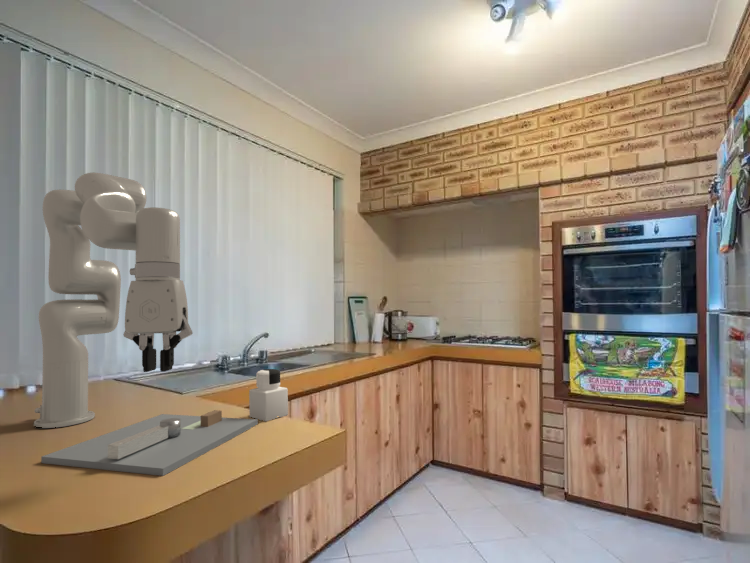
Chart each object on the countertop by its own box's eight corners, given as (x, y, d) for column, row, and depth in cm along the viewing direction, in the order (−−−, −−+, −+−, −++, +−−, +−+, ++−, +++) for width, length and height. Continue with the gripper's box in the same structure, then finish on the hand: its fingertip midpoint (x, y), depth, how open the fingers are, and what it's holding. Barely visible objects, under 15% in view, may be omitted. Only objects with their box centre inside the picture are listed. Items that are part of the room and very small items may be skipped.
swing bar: (169, 431, 90) (169, 417, 91) (184, 432, 89) (184, 418, 90) (104, 458, 75) (104, 441, 75) (121, 460, 74) (121, 443, 74)
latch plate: (41, 463, 78) (41, 443, 78) (162, 418, 107) (162, 404, 107) (163, 475, 70) (163, 454, 70) (257, 424, 99) (257, 409, 99)
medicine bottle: (271, 411, 111) (271, 366, 112) (288, 415, 107) (287, 369, 107) (248, 417, 106) (248, 370, 106) (265, 422, 101) (265, 373, 102)
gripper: (103, 273, 75) (102, 375, 74) (190, 270, 74) (190, 373, 73) (128, 276, 82) (128, 368, 81) (208, 273, 82) (208, 366, 81)
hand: (158, 369), depth 77 cm, fingers open, 2 cm apart
